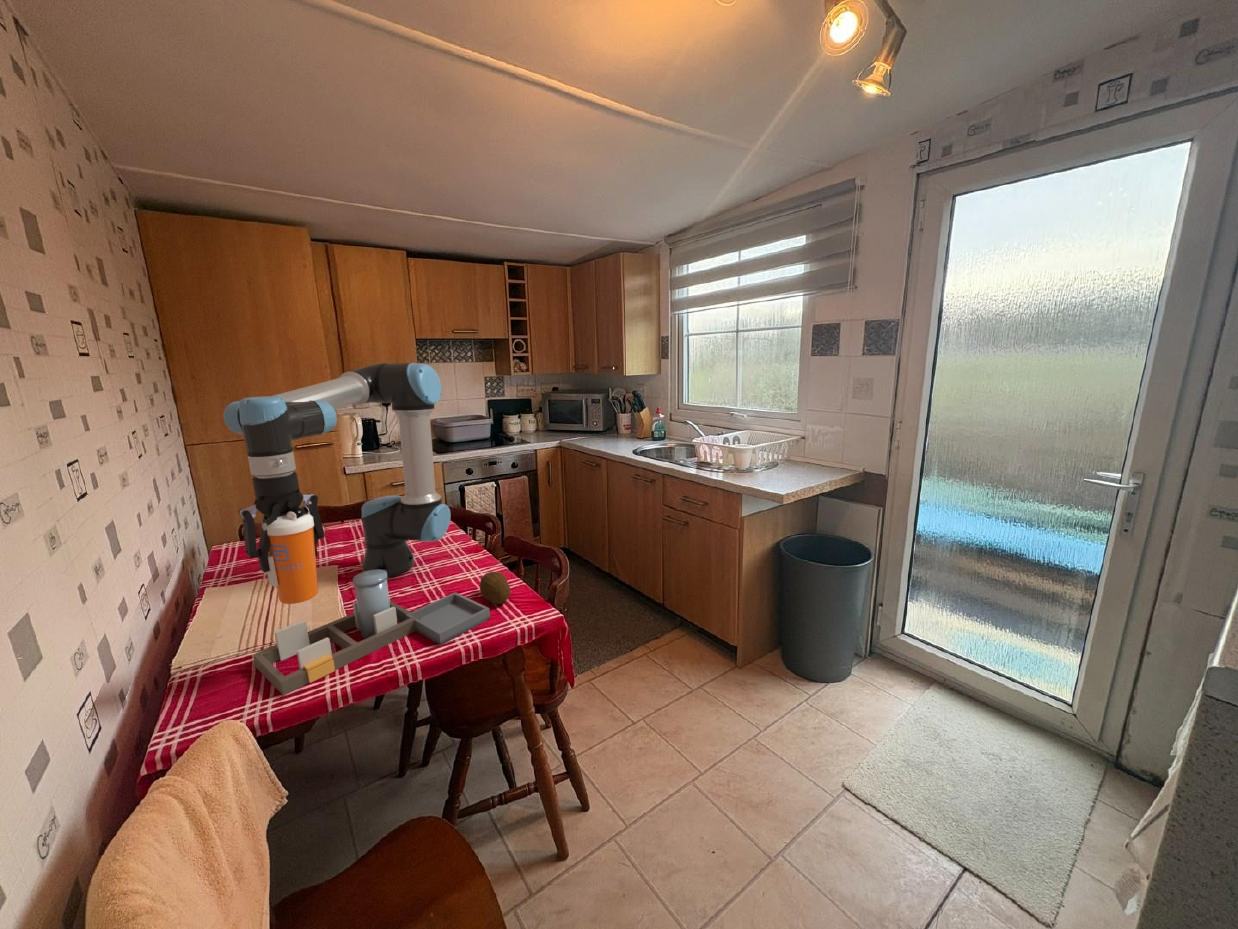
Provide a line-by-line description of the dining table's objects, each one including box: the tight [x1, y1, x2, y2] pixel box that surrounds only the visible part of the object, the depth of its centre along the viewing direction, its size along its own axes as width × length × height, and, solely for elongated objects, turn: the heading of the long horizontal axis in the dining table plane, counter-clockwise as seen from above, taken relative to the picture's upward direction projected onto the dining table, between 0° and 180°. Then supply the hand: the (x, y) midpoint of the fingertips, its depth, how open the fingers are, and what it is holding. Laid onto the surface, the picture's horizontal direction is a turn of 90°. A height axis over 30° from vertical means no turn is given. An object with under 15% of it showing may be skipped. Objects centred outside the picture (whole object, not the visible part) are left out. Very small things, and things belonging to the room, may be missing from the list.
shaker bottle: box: [261, 505, 319, 605], centre depth 102 cm, size 9×9×20 cm
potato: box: [479, 571, 511, 605], centre depth 134 cm, size 8×12×8 cm, turn 42°
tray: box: [406, 591, 491, 646], centre depth 123 cm, size 15×15×3 cm
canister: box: [352, 570, 390, 639], centre depth 118 cm, size 7×7×15 cm
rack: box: [252, 599, 420, 696], centre depth 112 cm, size 16×30×7 cm, turn 144°
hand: (293, 577), depth 103 cm, fingers open, 6 cm apart
